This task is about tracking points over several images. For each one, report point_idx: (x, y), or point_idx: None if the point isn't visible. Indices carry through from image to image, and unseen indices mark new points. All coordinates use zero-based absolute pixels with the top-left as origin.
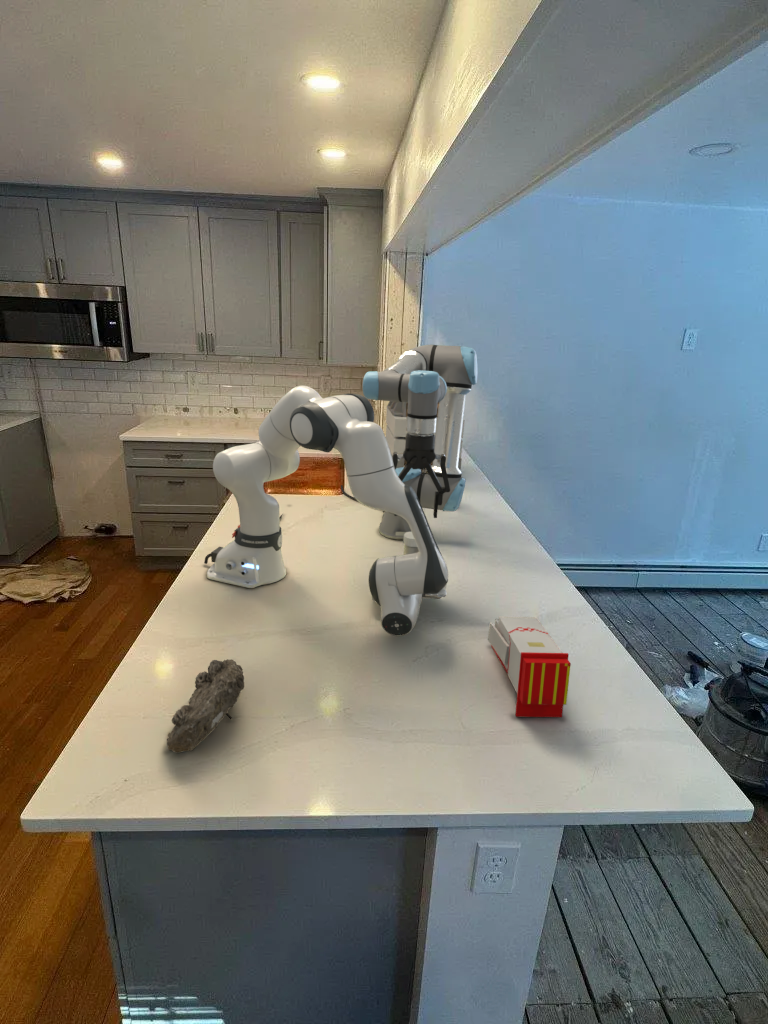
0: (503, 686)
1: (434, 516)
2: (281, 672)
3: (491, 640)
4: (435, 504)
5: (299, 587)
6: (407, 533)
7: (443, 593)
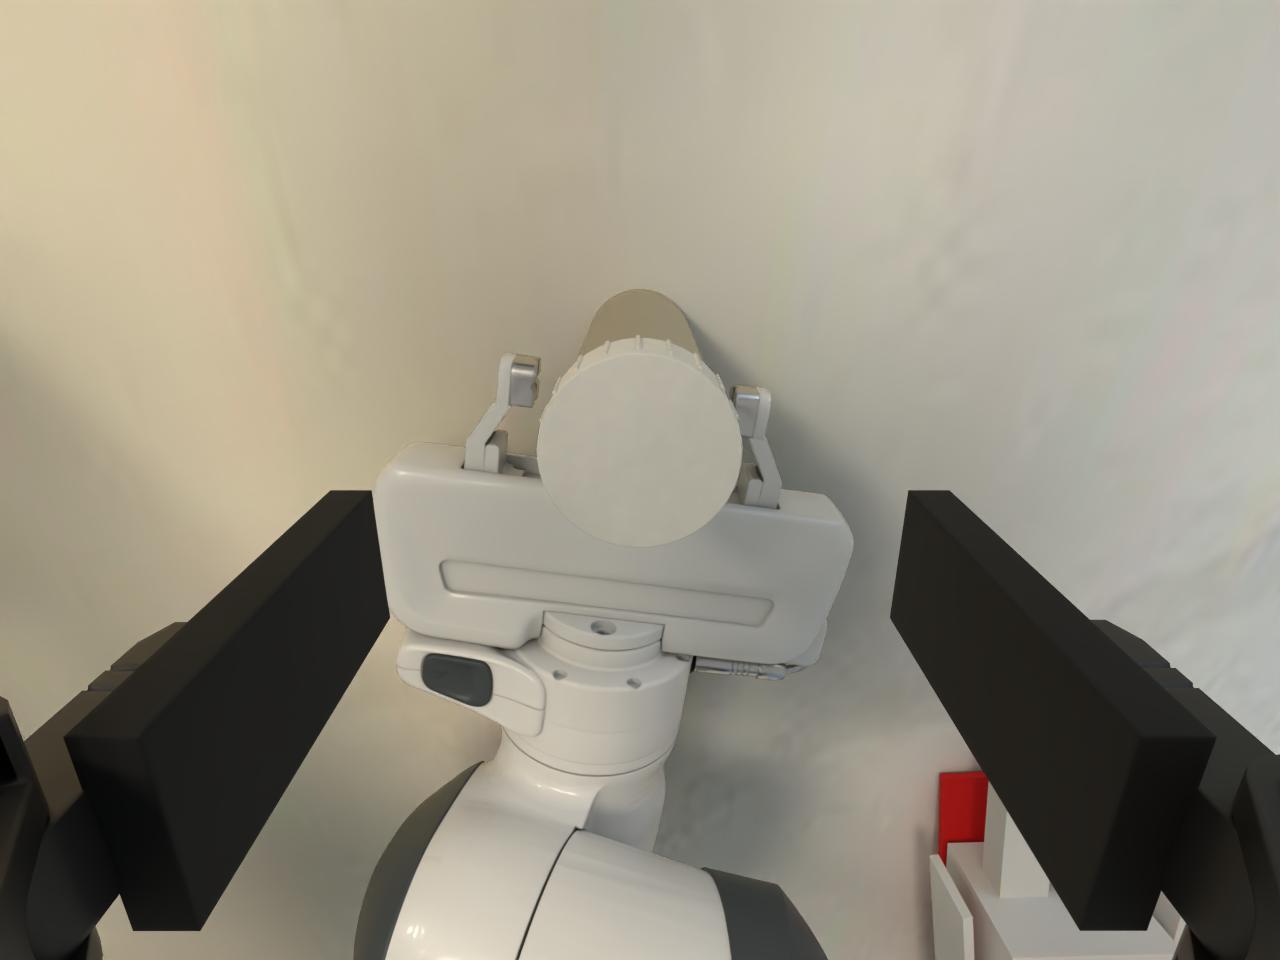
0: (911, 937)
1: (901, 626)
2: (224, 925)
3: (938, 901)
4: (980, 755)
5: (8, 363)
6: (572, 416)
7: (805, 659)
